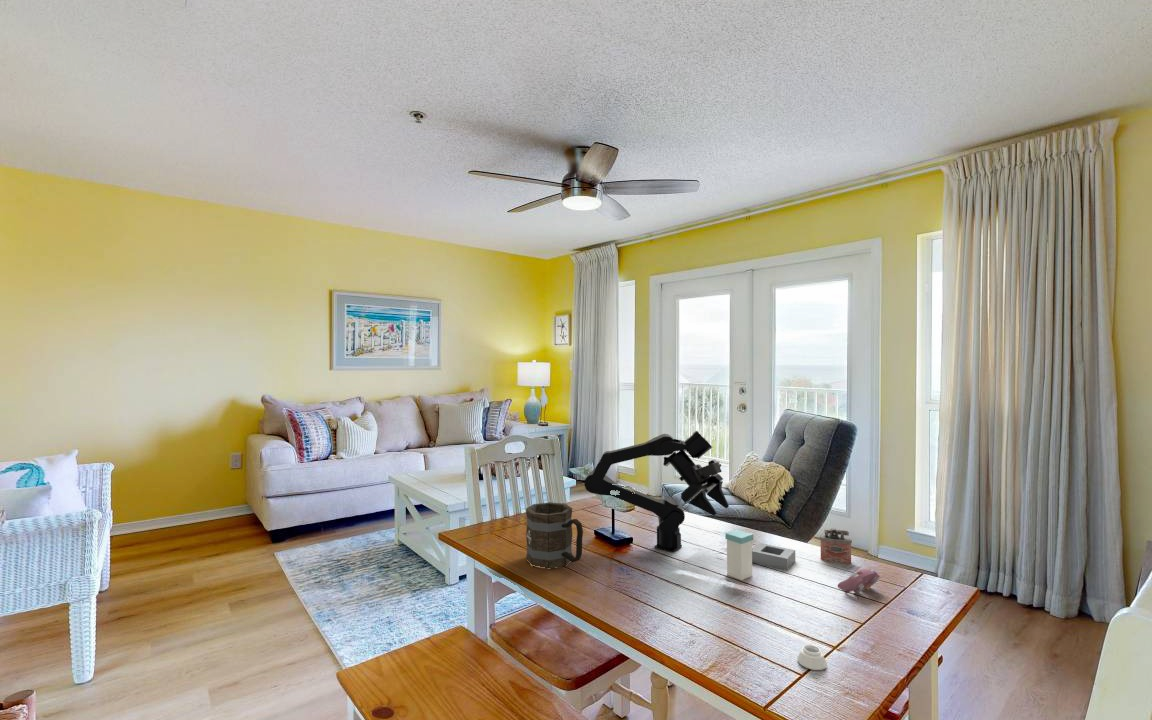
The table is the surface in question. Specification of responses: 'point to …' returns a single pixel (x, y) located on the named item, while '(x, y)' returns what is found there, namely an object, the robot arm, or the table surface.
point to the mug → (551, 535)
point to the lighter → (836, 546)
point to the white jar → (812, 658)
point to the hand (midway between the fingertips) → (721, 511)
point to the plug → (739, 554)
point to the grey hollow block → (773, 556)
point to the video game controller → (859, 581)
